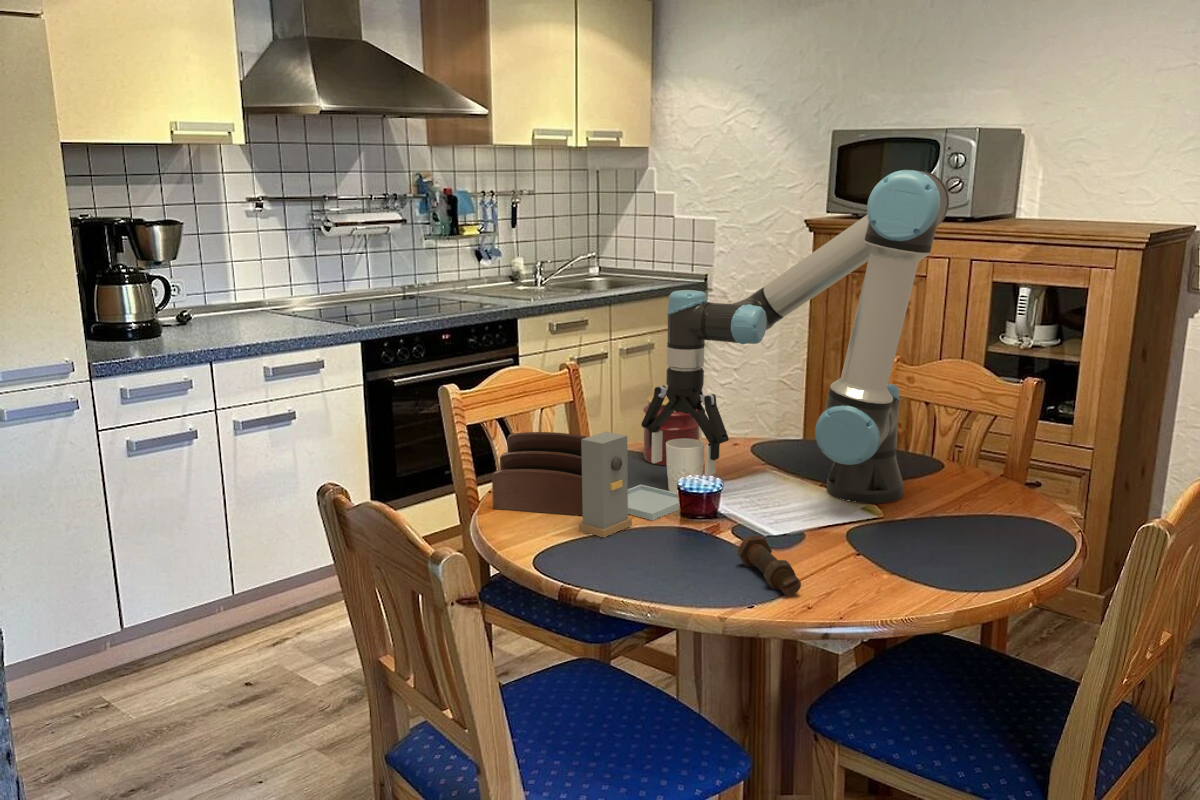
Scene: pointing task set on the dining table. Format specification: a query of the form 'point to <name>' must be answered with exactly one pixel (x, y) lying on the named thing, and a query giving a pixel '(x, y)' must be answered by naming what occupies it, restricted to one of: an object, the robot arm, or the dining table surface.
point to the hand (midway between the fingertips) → (682, 468)
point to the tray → (651, 502)
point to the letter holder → (540, 474)
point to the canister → (670, 430)
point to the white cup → (683, 460)
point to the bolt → (768, 564)
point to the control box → (604, 484)
